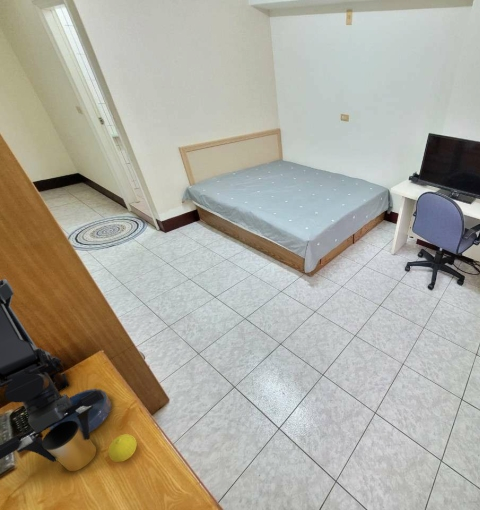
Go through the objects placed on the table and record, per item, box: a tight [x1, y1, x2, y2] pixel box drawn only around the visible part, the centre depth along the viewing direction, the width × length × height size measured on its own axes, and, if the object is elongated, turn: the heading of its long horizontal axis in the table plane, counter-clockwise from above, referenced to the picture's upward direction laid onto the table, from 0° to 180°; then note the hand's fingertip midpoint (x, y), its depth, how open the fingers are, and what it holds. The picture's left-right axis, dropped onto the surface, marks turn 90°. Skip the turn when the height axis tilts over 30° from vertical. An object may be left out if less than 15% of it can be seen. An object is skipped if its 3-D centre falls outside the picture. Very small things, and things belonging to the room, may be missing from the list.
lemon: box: [108, 433, 138, 463], centre depth 68 cm, size 6×6×8 cm
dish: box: [48, 388, 112, 434], centre depth 76 cm, size 12×12×4 cm
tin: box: [42, 421, 97, 472], centre depth 66 cm, size 6×6×12 cm
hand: (72, 449), depth 65 cm, fingers closed on tin, 6 cm apart
